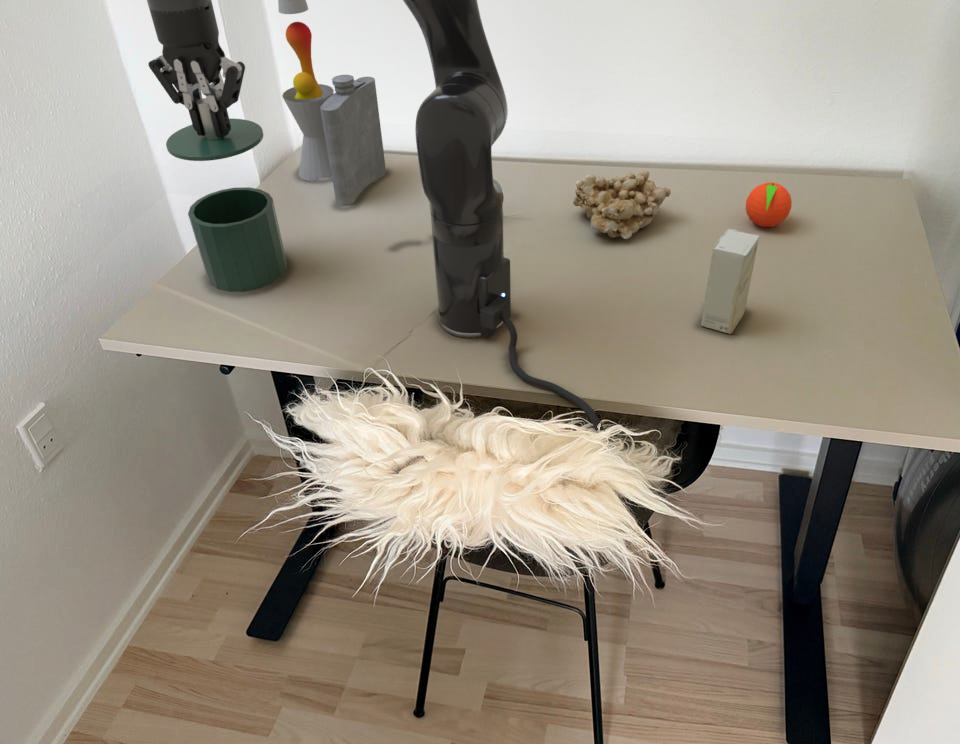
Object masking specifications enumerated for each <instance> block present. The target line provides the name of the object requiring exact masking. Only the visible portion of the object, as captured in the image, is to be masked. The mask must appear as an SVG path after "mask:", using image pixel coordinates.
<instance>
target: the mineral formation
mask: <svg viewBox="0 0 960 744" xmlns="http://www.w3.org/2000/svg"><path fill="white" fill-rule="evenodd" d="M649 177H650V171H647V170H644V169H643V170H641V171H639V172H638V174H637V175H635V174H634V173H633V172H628V173H626V174H624V176H622V177H621V176H616V177H615V178H609V179H606V178H605V177H604V176H601V175H600V176H596V175H595V174H587V175H585V176H584V177H583V178H584V179H583V180H580V179H579V180H577V181H576V182H575V186H576V189H574V191H575V195H576V196H575V195H574V197H573V198H572V199H573V200H572V204H573V205H574V207H581V209H582V210H584V212H585V213H586V216H587V219H589V220H590V224H589V225H590V228H591V229H593V230H598V231H599V232H602V233H604V234H607V235H608V236H609V238H613V239H614V238H617V237H621V238H622V239H623V240H629V239H630V238H631V237H632V236H633V234H635V233H637V232H638V231H639V229H643V228H645V227H646V226H648V225H650V224H651V222H652V221H653V218H654V216H656V215H657V214H658V213H659V211H660V206H661V205H662V204H663V202H664V201H665V200H666V198H667V197H670V196H671V194H672V192H671V189H670V188H669V187H668V186H665V187H661V186H660V187H659V186H656V183H655V181H654V180H649Z"/></svg>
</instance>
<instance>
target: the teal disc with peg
mask: <svg viewBox="0 0 960 744" xmlns="http://www.w3.org/2000/svg"><path fill="white" fill-rule="evenodd" d="M196 103H197V107H198V110H199V114H200V118H201V122H202V126H203V129H204V133H205V136H199V135H198V134H197V131H195V129H194V128H193V125H192V124H189V125H187V126H185V127H183V128H180V129H178V130H177V131H175V132H173V133H172V134H171V135H170V136H169V137H168V138H167V140H166V142H165V146H166V150H167V152H168V153H169V154H170V155H171V156H172V157H174V158H177V159H179V160H184V161H191V162H208V161H219V160H224V159H228V158H231V157H236V156H239V155H241V154H244V153H246V152H249V151H250V150H252V149H254V148H255V147H257V146H258V145H259V144H260V143H261V142H262V140H263V139H264V131H263V128H262V126H261V125H260V124H258V123H256V122H254V121H252V120H248V119H244V118H242V119H241V118H229V120H230V124H231V130H230V131H229V134H228V135H226V136H225V137H224V138H218V137H217V136H216V132H215V129H214V125H213V121H212V117H211V113H210V112H211V111H212V110H211V108H210V106H209V103H208V100H207V98H206V97H202V99H200V100H198V101H197V102H196Z"/></svg>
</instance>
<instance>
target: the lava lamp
mask: <svg viewBox="0 0 960 744" xmlns="http://www.w3.org/2000/svg"><path fill="white" fill-rule="evenodd" d="M277 6H278V8H277V9H278V13H280V14H282V15H296V14H302V13H305V12H307V11H308V10H309V6H308V3H307V0H277ZM312 36H313V35H312V31H311V29H310V27H309V26H308V25H307V24H306V23H304V22H301V21H293V22H291V23H289V25H288V26H287V27H286V29H285V39H286V41H287V43H288V45H289V46H290V47H291V49H292V50H293V52H294V53H295V55H296V56H297V58H298V60H299V64H300V68H301V72H298V73H297V74H296V75H295V76H294V77H293V80H292V85H293V87H290V88H288V89H286V90H285V91H284V92H283V93H282V99H283V101H284V102H285V104H286V106H287V108H288V110H289V111H290V113H291V115H292V117H293V118H294V120H295V122H296V124H297V126H298V127H299V129H300V131H301V133H302V135H303V136H302V145H301V152H300V161H299V170H298V176H299V178H300V179H302V180H304V181H306V182H315V183H316V182H317V181H319V180H320V179H326V178H332V174H331V168H330V162H329V157H328V151H327V145H326V139H325V133H324V127H323V121H322V115H321V109H320V107H321V106H322V104H323V103H324V102H325V101H326V100H327V99H328V98H329V97H330V96H332V95H333V94H334V93H335V89H334V87H332V86H330V85H327V84H323V83H318V81H317V79H316V75H315V73H314V68H313V60H312V39H313V38H312Z"/></svg>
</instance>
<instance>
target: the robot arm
mask: <svg viewBox="0 0 960 744" xmlns="http://www.w3.org/2000/svg"><path fill="white" fill-rule="evenodd" d="M402 2H403V3H404V4H405V6H406V7H407V9H408V10H409V12H410V13H411V15H412V16H413V18H414V19H415V21H416V23H417V25H418V27H419V29H420V31H421V34H422V35H423V38H424V41H425V45H426V47H427V50H428V54H429V59H430V63H431V67H432V72H433V73H432V74H433V77H434V85H435V89H434V90H433V91H432V92H431V93H430V94H429V95H428V96H427V97H425V98H424V100H423V101H422V102H421V104H420V105H419V107H418V110H417V113H416V118H415V143H416V144H415V145H416V151H417V152H416V153H417V160H418V166H419V167H418V168H419V174H420V181H421V186H422V190H423V193H424V195H425V197H426V198H427V201H428V203H429V212H430V224H431V237H432V238H431V239H432V247H433V249H432V250H433V259H434V260H433V261H434V271H435V272H434V273H435V283H436V294H437V306H438V323H439V325H440V327H441V328H442V329H443V330H444V331H445V332H447V333H448V334H450V335H452V336H456V337H460V338H465V339H466V338H467V339H472V338H484V339H486V340H488V339H490V338H491V337H492V336H494V334H495V333H497V331H499V330H500V329H501V328H502V327H503V326H504V325H505V327H506V328H507V330H508V331H509V336H510V337H509V339H510V340H509V344H508V354H509V355H508V356H509V363H510V367H511V369H512V371H513V372H514V374H515V375H516V376H517V377H518V378H520V379H521V380H522V381H524V382H526V383H528V384H530V385H533V386H536V387H541V388H544V389H546V390H550V391H552V392H554V393H555V394H558V395H559V396H561V397H563V398H565V399H566V400H568V401H569V402H571V403H573V404H575V405H576V406H577V407H579V408H580V410H582V411H583V412H584V413H585V415H586V416H587V418H588V419H589V421H590V422H591V424H592V426H593V427H594V430H595V431H596V432H597V430H598V428H597V425H598V424H599V423H600V422H601V420H600V418H599V417H598V415H597V414H596V412H595V411H594V409H593V408H592V407H591V406H590V405H589V404H588V403H587V402H586V401H585V400H583V398H581V397H579V396H578V395H576V394H574V393H572V392H571V391H569V390H568V389H565V388H564V387H561V386H560V385H559V384H556V383H554V382H551V381H548V380H545V379H541V378H537V377H534V376H531V375H529V374H528V373H526V372H525V371H524V370H523V369H522V368H521V367H520V366H519V364H518V363H519V362H518V357H517V342H518V332H517V328H516V326H515V324H514V323H513V321H512V320H511V318H512V291H511V289H512V288H511V283H512V282H511V259H510V258H508V257H505V253H504V251H505V250H504V195H503V196H502V192H503V189H502V186H501V184H500V183H499V181H497V180H496V178H495V179H494V176H493V175H494V174H493V158H492V156H493V155H492V154H493V153H492V147H493V145H494V144H495V143H496V141H497V140H498V139H499V137H500V136H501V135H502V133H503V131H504V129H505V127H506V124H507V119H508V114H509V113H508V111H509V109H508V102H507V97H506V92H505V89H504V86H503V83H502V80H501V77H500V74H499V71H498V68H497V65H496V63H495V60H494V57H493V53H492V51H491V47H490V45H489V41H488V39H487V35H486V32H485V29H484V28H485V27H484V25H483V22H482V18H481V13H480V9H479V3H478V0H402ZM146 3H147V6H148V10H149V13H150V16H151V19H152V20H151V21H152V23H153V27H154V30H155V35H156V38H157V41H158V42H159V44H160V45H162V51H161V53H162V55H159V56H157V57H155V58H153V59H152V60H150V61H149V62H148V67H149V69H150V70H151V72H152V74H153V75H154V76H155V78H156V79H157V81H158V82H159V84H160V86H162V88H163V89H164V91H165V92H166V93H167V95H168V96H169V98H170V99H171V101H172V102H173V103H174V104H176V105H178V104H181V105H182V106H184V107H185V108H186V109H187V110H188V114H189V117H190V120H191V125H193V128H194V129H195V131H197V134H198V135H199V136H205V133H204V129H203V126H202V122H201V118H200V114H199V110H198V107H197V103H196V102H197V101H198V100H200V99H203V96H205V98H207V100H208V103H209V106H210V108H211V110H212V111H211V112H210V113H211V117H212V121H213V125H214V129H215V132H216V136H217V137H218V138H224V137H225V136H226V135H228V134H229V131H230V130H231V124H230V120H229V119H230V116H229V112H228V108H230V107H231V106H232V105H234V104H236V103H237V102H239V97H240V94H241V90H242V89H241V88H242V84H243V81H244V74H245V71H246V65H245V64H244V62H243V61H237V62H235V61H233V60H231V59H230V58H228V57H226V54H225V53H226V52H224V50H223V48H222V47H221V45H220V42H219V35H220V32H219V31H220V30H219V26H218V22H217V18H216V14H215V10H214V5H213V1H212V0H146ZM221 71H222V74H221ZM223 79H224V80H223ZM202 95H203V96H202ZM600 430H604V431H605V428H604V426H603V424H602V423H601V427H600Z"/></svg>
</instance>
